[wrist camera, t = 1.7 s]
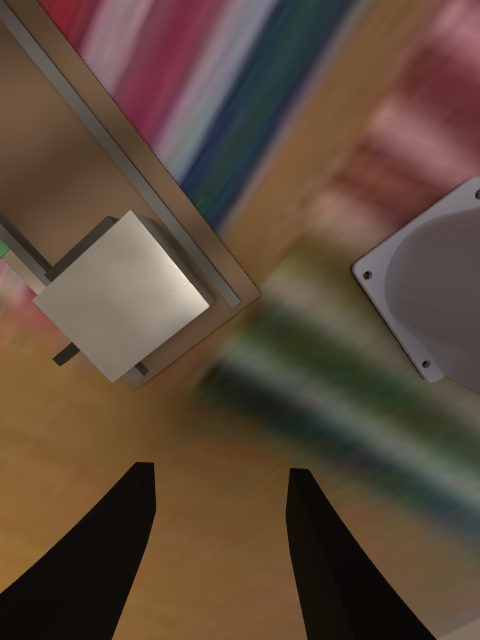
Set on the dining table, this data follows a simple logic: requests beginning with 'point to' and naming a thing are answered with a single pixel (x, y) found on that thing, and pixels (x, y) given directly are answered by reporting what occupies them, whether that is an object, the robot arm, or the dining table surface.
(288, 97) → the dining table surface
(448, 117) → the dining table surface
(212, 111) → the dining table surface
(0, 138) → the base
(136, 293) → the block
